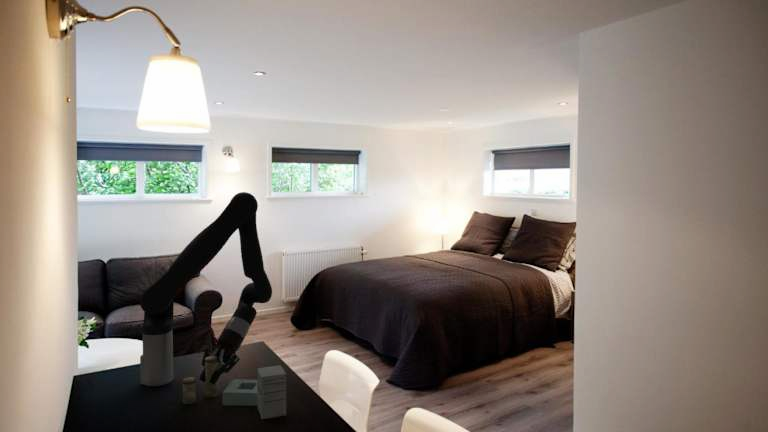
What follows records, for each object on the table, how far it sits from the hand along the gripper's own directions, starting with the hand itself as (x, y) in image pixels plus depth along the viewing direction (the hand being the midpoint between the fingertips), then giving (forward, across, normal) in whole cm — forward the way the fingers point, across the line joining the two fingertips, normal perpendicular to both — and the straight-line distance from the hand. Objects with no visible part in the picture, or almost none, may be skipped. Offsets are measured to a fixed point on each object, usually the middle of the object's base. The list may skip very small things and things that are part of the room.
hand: (206, 381), depth 152 cm
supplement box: (+3, +25, +5) cm, 25 cm away
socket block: (0, +12, +7) cm, 14 cm away
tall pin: (+2, 0, +5) cm, 5 cm away
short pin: (+7, -2, 0) cm, 7 cm away
